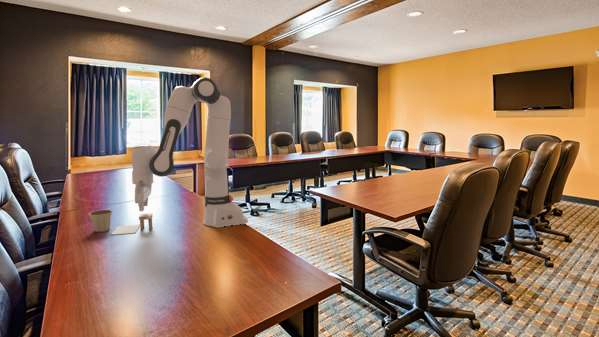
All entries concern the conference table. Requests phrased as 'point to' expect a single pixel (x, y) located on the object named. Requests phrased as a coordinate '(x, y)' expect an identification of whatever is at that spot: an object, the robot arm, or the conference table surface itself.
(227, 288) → the conference table surface
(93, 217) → the flower pot
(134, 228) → the mat
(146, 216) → the stool
